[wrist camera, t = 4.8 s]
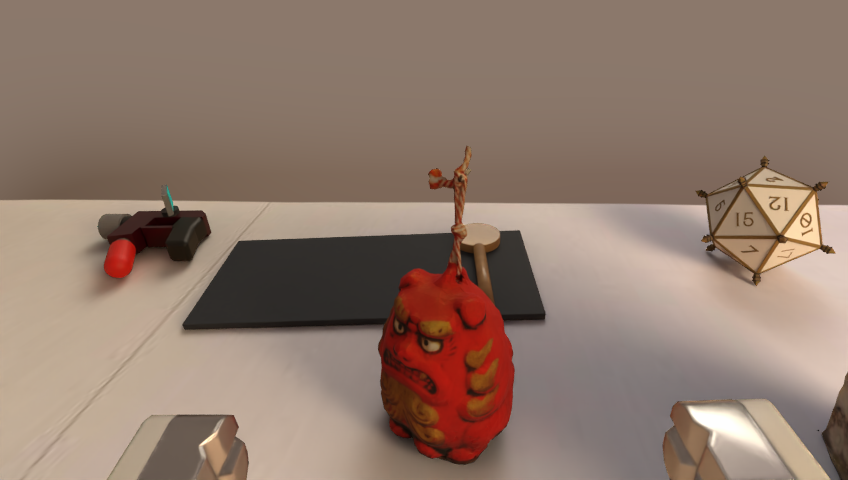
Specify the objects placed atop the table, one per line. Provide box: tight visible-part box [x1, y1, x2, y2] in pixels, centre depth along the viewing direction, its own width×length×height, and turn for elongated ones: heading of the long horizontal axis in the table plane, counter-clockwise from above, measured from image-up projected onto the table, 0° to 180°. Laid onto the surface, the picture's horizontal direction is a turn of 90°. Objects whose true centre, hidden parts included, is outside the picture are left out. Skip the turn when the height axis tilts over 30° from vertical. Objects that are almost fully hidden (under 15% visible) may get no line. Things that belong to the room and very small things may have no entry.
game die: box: [696, 156, 835, 286], centre depth 37 cm, size 9×8×10 cm
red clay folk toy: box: [378, 146, 515, 465], centre depth 24 cm, size 8×7×15 cm
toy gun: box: [97, 185, 211, 278], centre depth 45 cm, size 10×12×5 cm
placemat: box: [183, 230, 545, 330], centre depth 40 cm, size 26×12×1 cm, turn 89°
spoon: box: [460, 223, 500, 305], centre depth 40 cm, size 12×4×1 cm, turn 179°
